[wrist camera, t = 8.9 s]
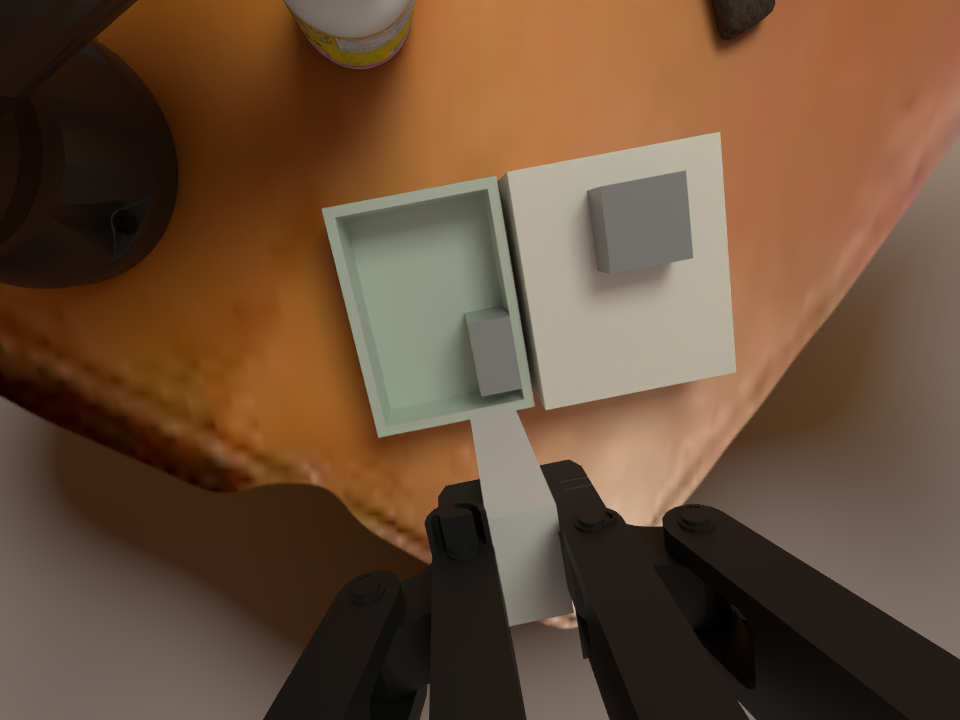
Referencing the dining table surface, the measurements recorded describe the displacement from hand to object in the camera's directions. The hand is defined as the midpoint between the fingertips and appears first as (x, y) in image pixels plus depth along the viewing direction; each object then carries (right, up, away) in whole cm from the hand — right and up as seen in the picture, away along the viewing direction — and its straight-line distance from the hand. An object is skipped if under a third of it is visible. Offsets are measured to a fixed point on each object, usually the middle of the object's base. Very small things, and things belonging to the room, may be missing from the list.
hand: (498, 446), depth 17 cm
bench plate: (+8, +9, +18) cm, 21 cm away
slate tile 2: (+8, +11, +12) cm, 18 cm away
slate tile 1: (+1, +4, +16) cm, 16 cm away
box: (-4, +7, +17) cm, 19 cm away
